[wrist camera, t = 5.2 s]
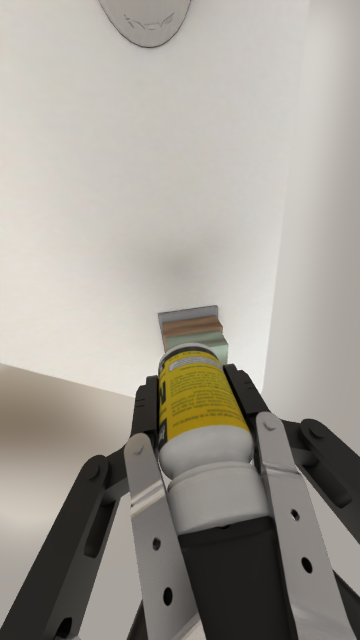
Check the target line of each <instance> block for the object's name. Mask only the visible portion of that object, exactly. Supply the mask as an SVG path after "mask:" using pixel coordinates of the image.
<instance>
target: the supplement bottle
mask: <svg viewBox="0 0 360 640" xmlns="http://www.w3.org/2000/svg"><path fill="white" fill-rule="evenodd" d="M158 392H159V395H158V410H159V445H158V448H159V450H158V451H159V463H160V466H161V468H162V471H163V472H164V474H165V475H166V476H167V477H168V478H170V479H171V480H172V481H171V482H170V484H169V485H168V488H167V492H168V495H167V499H168V502H169V506H170V510H171V514H172V517H173V522H174V525H175V529H176V532H177V536H178V537H179V535H182V534H187V533H192V532H196V531H201V530H205V529H210V528H219V529H227V528H229V527H230V526H231V525H233V524H234V523H236V522H241V521H245V520H250V519H254V518H259V517H263V516H268V515H269V517H271V512H270V507H269V503H268V500H267V497H266V493H265V489H264V486H263V483H262V479H261V477H260V475H259V474H258V471H257V469H256V468H255V467H254V466H253V465H251V464H249V463H250V462H251V460H252V458H253V455H254V442H253V439H252V436H251V433H250V431H249V428H248V426H247V424H246V422H245V420H244V417H243V415H242V413H241V411H240V408H239V406H238V404H237V401H236V399H235V397H234V395H233V392H232V390H231V388H230V385H229V383H228V381H227V378H226V376H225V374H224V371H223V369H222V367H221V364H220V362H219V360H218V358H217V356H216V354H215V352H214V351H213V350H212V349H211V348H209V347H208V346H206V345H203V344H200V343H184V344H180V345H178V346H175V347H173V348H171V349H170V350H169V351H167V352H166V353H165V354H164V355H163V357H162V358H161V360H160V363H159V368H158Z"/></svg>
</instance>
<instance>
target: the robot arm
mask: <svg viewBox="0 0 360 640" xmlns="http://www.w3.org/2000/svg"><path fill="white" fill-rule="evenodd" d="M99 1H100V3H101V6H102V7H103V9H104V11H105V12H106V14H107V16H108V17H109V19H110V21H111V22H112V23H113V24H114V26H115V27H116V28H117V29H118V30H119V32H120V33H121V34H123V35H124V36H125V37H126V38H127V39H129V40H130V41H131V42H134V43H136V44H138V45H140V46H146V47H154V46H158V45H161V44H163V43H164V42H166V41H168V40H169V39H170V38H171V37H172V36H173V35H174V34H175V33H176V31H177V30H178V29H179V27H180V25H181V23H182V22H183V20H184V18H185V16H186V13H187V10H188V7H189V4H190V1H191V0H99ZM222 369H223V371H224V374H225V376H226V378H227V381H228V383H229V385H230V388H231V390H232V392H233V395H234V397H235V399H236V401H237V404H238V406H239V408H240V411H241V413H242V415H243V417H244V420H245V422H246V424H247V426H248V428H249V431H250V433H251V436H252V439H253V442H254V455H253V458H252V465H253V466H254V467H255V468H256V469H257V471H258V474H259V475H260V477H261V479H262V483H263V486H264V489H265V493H266V497H267V500H268V503H269V507H270V512H271V517H269V515H268V516H263V517H259V518H254V519H250V520H245V521H241V522H236V523H234V524H233V525H231V526H230V527H229V528H227V529H219V528H210V529H205V530H201V531H196V532H192V533H187V534H182V535H179V537H178V536H177V532H176V529H175V525H174V522H173V517H172V514H171V510H170V506H169V502H168V499H167V495H168V493H167V490H166V487H165V484H164V480H163V477H162V473H161V470H160V467H159V463H158V450H159V448H158V445H159V410H158V395H159V392H158V376H157V375H155V376H149V377H147V378H146V385H142V386H140V387H139V389H138V390H137V392H136V398H135V406H134V414H133V421H132V430H131V435H130V437H129V440H128V442H127V443H126V444H125V445H124V446H123V447H122V448H121V449H120V450H118V451H116V452H114V453H112V454H111V455H109V456H107V457H105V456H103V455H96V456H94V457H92V458H90V459H89V460H88V461H87V462H86V463H85V464H84V466H83V467H82V469H81V470H80V472H79V474H78V476H77V478H76V480H75V482H74V484H73V486H72V488H71V490H70V492H69V494H68V496H67V498H66V500H65V502H64V504H63V506H62V508H61V510H60V512H59V514H58V516H57V518H56V520H55V522H54V524H53V526H52V528H51V530H50V532H49V534H48V536H47V538H46V540H45V542H44V544H43V546H42V548H41V550H40V552H39V554H38V556H37V558H36V560H35V561H34V563H33V565H32V567H31V570H30V571H29V573H28V575H27V577H26V579H25V582H24V583H23V585H22V587H21V589H20V591H19V593H18V595H17V597H16V599H15V601H14V603H13V605H12V607H11V609H10V611H9V613H8V615H7V617H6V619H5V621H4V623H3V625H2V627H1V629H0V640H81V639H80V638H79V636H78V633H79V630H80V627H81V624H82V620H83V617H84V614H85V611H86V607H87V604H88V601H89V598H90V595H91V592H92V588H93V585H94V582H95V579H96V576H97V572H98V569H99V566H100V563H101V559H102V556H103V553H104V550H105V546H106V543H107V540H108V537H109V534H110V530H111V527H112V524H113V521H114V517H115V515H116V511H117V508H118V505H119V501H120V498H121V497H122V496H123V495H125V494H126V493H128V492H129V491H130V496H131V509H130V510H131V522H132V529H133V536H134V543H135V550H136V556H137V564H138V570H139V577H140V583H141V591H142V601H141V603H140V606H139V609H138V611H137V614H136V616H135V619H134V622H133V624H132V627H131V629H130V632H129V635H128V637H127V640H360V597H359V596H358V595H357V594H356V593H355V592H354V591H353V590H352V588H351V587H349V585H348V584H346V582H345V581H344V580H343V579H342V578H341V577H340V576H339V575H338V574H337V573H336V572H335V571H334V570H333V569H332V567H331V564H330V560H329V557H328V554H327V551H326V547H325V544H324V541H323V538H322V534H321V531H320V528H319V525H318V521H317V518H316V515H315V512H314V509H313V505H312V502H311V499H310V496H309V493H308V489H307V486H306V483H305V481H304V478H303V477H302V475H301V474H300V473H298V471H297V469H296V467H295V465H296V466H297V467H298V468H299V470H300V471H301V472H302V473H303V475H304V476H305V477H306V478H307V480H308V481H309V482H310V483H311V484H312V486H313V487H314V488H315V489H316V491H317V492H318V493H319V494H320V496H321V497H322V498H323V499H324V501H325V502H326V503H327V504H328V506H329V507H330V508H331V509H332V511H333V512H334V513H335V514H336V516H337V517H338V518H339V519H340V520H341V522H342V523H343V524H344V525H345V527H346V528H347V529H348V531H349V532H350V533H351V534H352V535H353V537H354V538H355V539H356V540H357V542H358V543H359V544H360V457H359V456H358V455H357V454H356V453H355V452H354V451H353V450H351V449H350V448H349V447H348V446H347V445H346V444H345V443H344V442H343V441H341V440H340V439H339V438H338V437H337V436H336V435H335V434H334V433H333V432H331V431H330V430H329V429H328V428H327V427H326V426H325V425H323V424H322V423H320V422H319V421H317V420H314V419H304V420H303V421H302V422H301V423H296V422H290V421H285V420H281V419H280V418H278V417H277V416H276V415H274V414H272V413H271V411H270V410H269V409H268V407H267V406H266V404H265V402H264V400H263V399H262V397H261V395H260V394H259V392H258V390H257V389H256V387H255V385H254V384H253V383H252V380H251V379H250V377H249V375H248V374H247V373H245V372H244V371H243V370H237V368H236V367H235V365H234V364H227V365H223V368H222ZM293 516H294V518H295V520H294V519H293V518H292V517H293Z"/></svg>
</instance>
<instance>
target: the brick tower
mask: <svg viewBox="0 0 360 640" xmlns="http://www.w3.org/2000/svg"><path fill="white" fill-rule="evenodd" d="M222 330H223V327H222V325H221V323H220V322H219V320H218V319H217V317H216V315H215V316H208V317H201V318H194V319H187V320H180V321H173V322H165V323H162V331H163V340H164V345H165V351H166V352H167V351H169V350H170V349H171V348H173V347H175V346H178V345H180V344H184V343H200V344H203V345H206V346H208V347H209V348H211V349H212V350H213V351H214V352H215V354H216V356H217V358H218V360H219V362H220V364H221V367H222V368H223V365H227V357H228V343H227V341H226V340H225V338H224V336H223V335H222Z"/></svg>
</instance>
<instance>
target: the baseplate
mask: <svg viewBox="0 0 360 640" xmlns="http://www.w3.org/2000/svg"><path fill="white" fill-rule="evenodd" d="M215 315H216V317H217V319H218V307H217V306H210V307H203V308H195V309H188V310H181V311H174V312H166V313H159V314H158V318H159V324H160V329H161V334H162V340H163V331H162V323H165V322H173V321H180V320H187V319H194V318H201V317H208V316H215ZM163 345H164V340H163ZM164 351H165V345H164ZM165 353H166V351H165Z"/></svg>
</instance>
